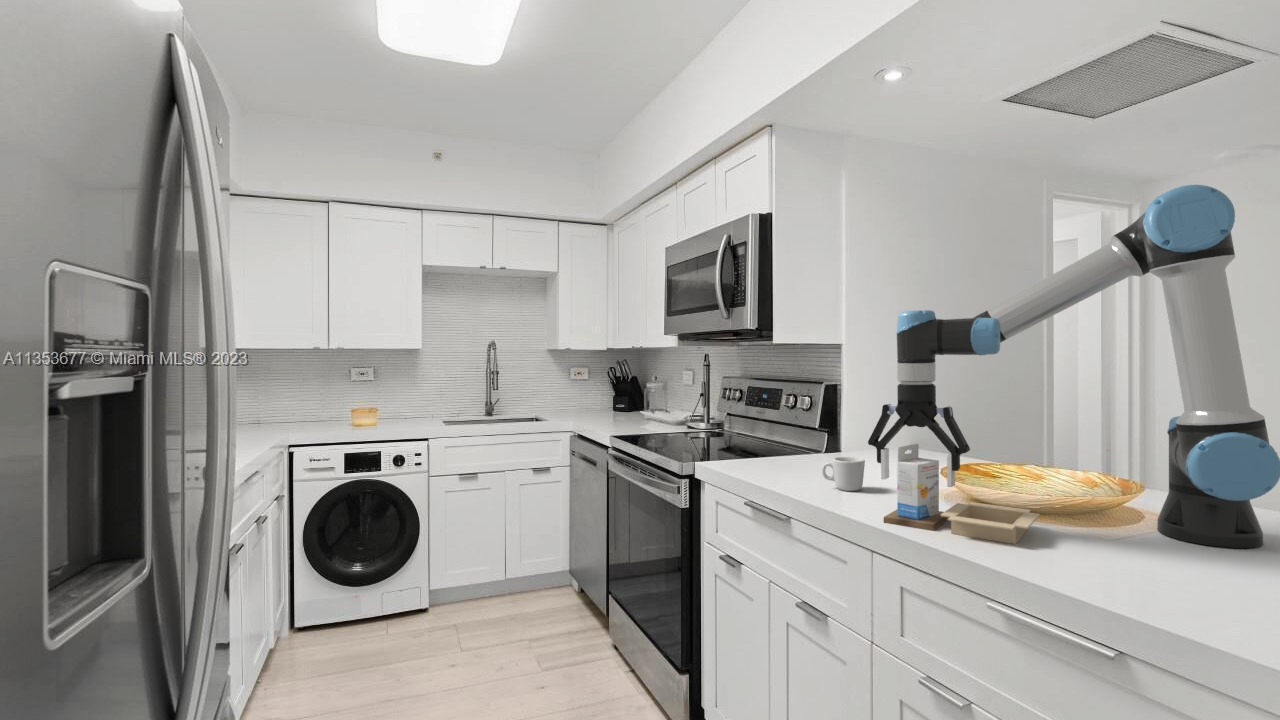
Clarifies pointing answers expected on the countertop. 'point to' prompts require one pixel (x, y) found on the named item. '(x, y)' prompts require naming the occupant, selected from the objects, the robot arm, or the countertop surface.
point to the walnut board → (916, 521)
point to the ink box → (917, 484)
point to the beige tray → (990, 521)
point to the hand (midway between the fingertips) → (917, 482)
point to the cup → (846, 472)
